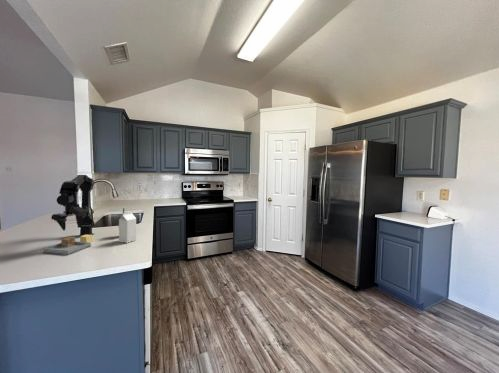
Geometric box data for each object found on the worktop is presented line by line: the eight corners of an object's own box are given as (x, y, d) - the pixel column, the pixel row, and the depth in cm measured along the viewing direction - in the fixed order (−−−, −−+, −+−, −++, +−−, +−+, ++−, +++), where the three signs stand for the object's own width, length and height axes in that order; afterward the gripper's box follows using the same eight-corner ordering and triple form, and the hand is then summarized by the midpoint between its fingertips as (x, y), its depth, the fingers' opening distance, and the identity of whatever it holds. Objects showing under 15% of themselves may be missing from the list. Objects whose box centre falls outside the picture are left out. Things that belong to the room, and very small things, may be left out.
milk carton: (136, 240, 145) (136, 212, 144) (127, 243, 139) (127, 214, 137) (128, 239, 148) (128, 211, 146) (118, 242, 141) (118, 213, 140)
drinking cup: (124, 238, 149) (124, 209, 148) (114, 237, 150) (114, 208, 149) (132, 235, 156) (132, 207, 155) (123, 234, 158) (123, 207, 157)
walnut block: (69, 244, 132) (68, 236, 132) (75, 244, 131) (75, 237, 131) (61, 246, 127) (61, 239, 127) (68, 247, 127) (67, 239, 126)
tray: (67, 244, 133) (67, 240, 133) (90, 246, 131) (90, 242, 131) (43, 252, 120) (43, 248, 119) (68, 255, 117) (68, 250, 117)
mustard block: (86, 241, 141) (86, 234, 141) (92, 241, 140) (92, 234, 140) (80, 243, 136) (79, 236, 136) (86, 243, 136) (86, 236, 136)
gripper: (67, 205, 119) (68, 233, 120) (96, 201, 137) (96, 225, 138) (50, 204, 121) (51, 232, 122) (81, 200, 139) (81, 224, 140)
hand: (71, 228), depth 130 cm, fingers open, 9 cm apart
